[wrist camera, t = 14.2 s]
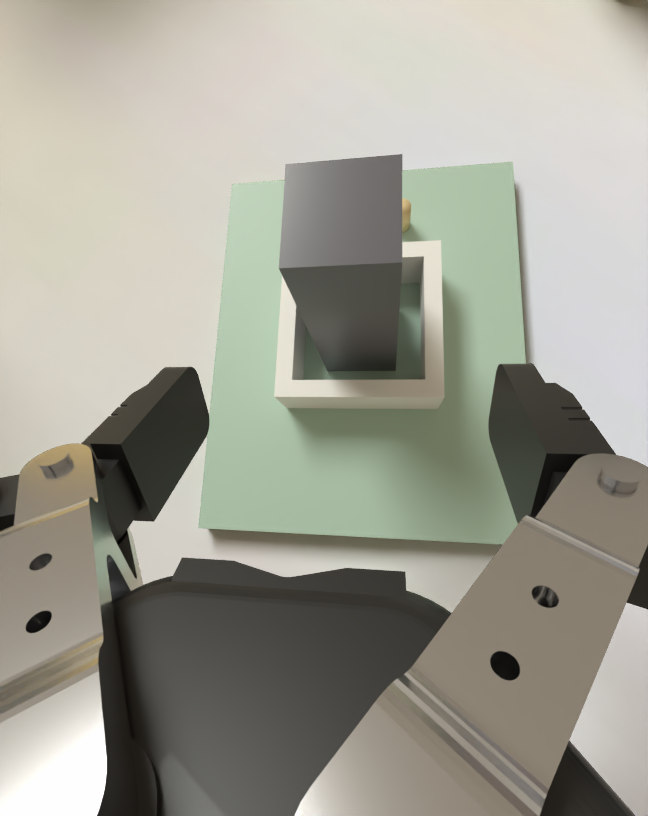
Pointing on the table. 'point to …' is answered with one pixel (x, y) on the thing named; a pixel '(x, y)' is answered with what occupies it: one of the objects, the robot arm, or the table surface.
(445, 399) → the board
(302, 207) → the grey rectangular block
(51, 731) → the robot arm
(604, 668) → the table surface
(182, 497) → the table surface
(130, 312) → the table surface
